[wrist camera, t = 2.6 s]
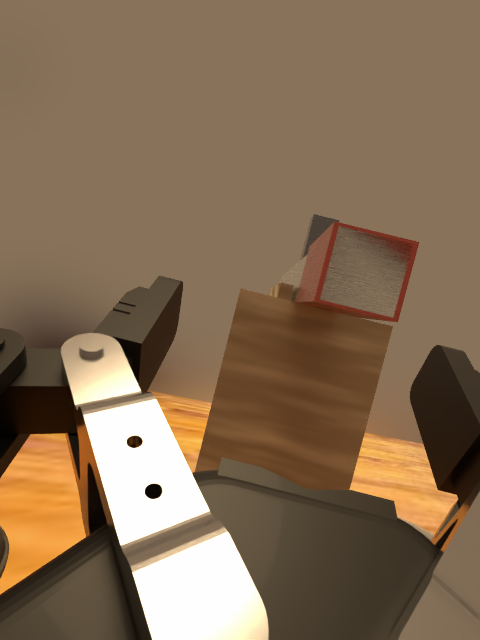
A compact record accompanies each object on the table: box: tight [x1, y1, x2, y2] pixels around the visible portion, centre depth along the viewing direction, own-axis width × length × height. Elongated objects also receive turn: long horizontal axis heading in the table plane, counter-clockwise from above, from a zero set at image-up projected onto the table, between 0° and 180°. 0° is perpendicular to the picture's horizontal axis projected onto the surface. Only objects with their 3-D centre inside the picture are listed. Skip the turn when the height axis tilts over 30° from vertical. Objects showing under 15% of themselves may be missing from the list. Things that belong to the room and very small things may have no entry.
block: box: [280, 214, 419, 322], centre depth 37 cm, size 36×4×9 cm, turn 178°
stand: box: [195, 282, 393, 490], centre depth 39 cm, size 16×14×33 cm
